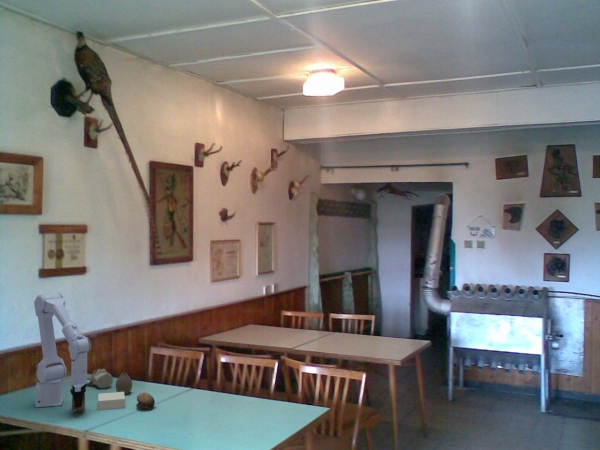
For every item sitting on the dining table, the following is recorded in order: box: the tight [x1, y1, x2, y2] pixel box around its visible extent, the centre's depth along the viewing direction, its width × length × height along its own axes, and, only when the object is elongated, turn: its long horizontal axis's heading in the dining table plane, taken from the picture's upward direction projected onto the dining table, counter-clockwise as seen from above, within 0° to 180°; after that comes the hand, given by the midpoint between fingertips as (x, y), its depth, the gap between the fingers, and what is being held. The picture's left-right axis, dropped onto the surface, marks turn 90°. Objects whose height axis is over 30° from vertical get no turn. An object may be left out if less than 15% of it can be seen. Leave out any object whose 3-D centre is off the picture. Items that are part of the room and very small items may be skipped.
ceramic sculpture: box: [87, 366, 114, 390], centre depth 260 cm, size 11×9×15 cm
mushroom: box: [135, 392, 155, 410], centre depth 230 cm, size 8×8×6 cm
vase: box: [115, 372, 133, 396], centre depth 249 cm, size 7×7×9 cm
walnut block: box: [71, 393, 86, 412], centre depth 224 cm, size 4×4×5 cm
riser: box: [97, 391, 126, 411], centre depth 233 cm, size 10×10×4 cm
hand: (78, 405), depth 224 cm, fingers closed on walnut block, 4 cm apart
